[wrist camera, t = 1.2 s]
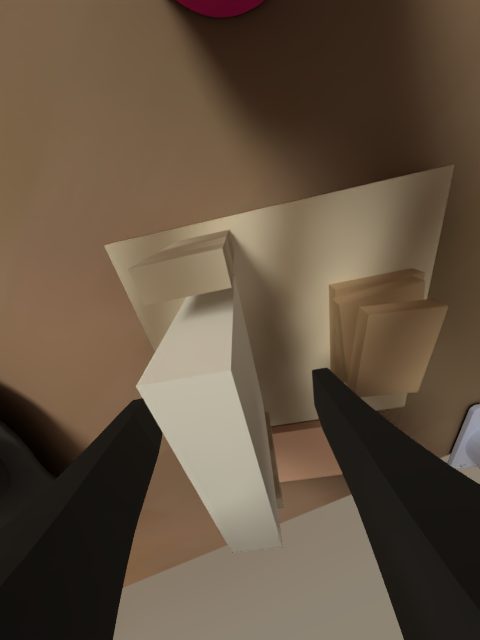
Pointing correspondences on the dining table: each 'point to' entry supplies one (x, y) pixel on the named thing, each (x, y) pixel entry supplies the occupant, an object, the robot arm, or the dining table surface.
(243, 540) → the white upright panel
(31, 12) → the dining table surface
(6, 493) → the casserole
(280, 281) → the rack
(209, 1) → the pepper mill
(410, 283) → the offcut stack
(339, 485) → the dining table surface
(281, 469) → the mat
